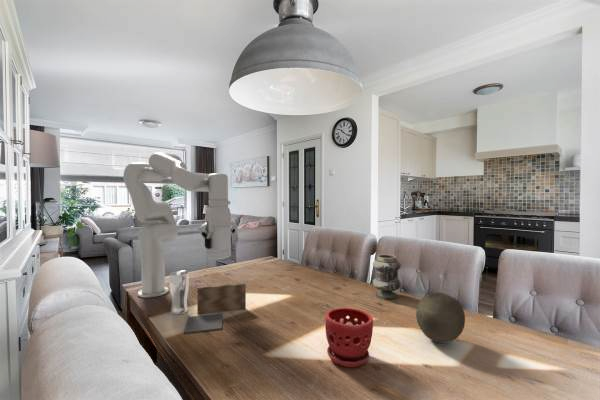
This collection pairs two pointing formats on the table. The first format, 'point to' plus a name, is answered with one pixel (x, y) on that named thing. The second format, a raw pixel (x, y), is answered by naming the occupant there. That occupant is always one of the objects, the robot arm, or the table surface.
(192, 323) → the mat
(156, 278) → the robot arm
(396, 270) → the apothecary jar
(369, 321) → the plant pot
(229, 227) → the supplement box
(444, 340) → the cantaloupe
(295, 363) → the table surface
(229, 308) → the wood grain panel
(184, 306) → the metal tumbler
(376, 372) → the table surface
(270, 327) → the table surface
